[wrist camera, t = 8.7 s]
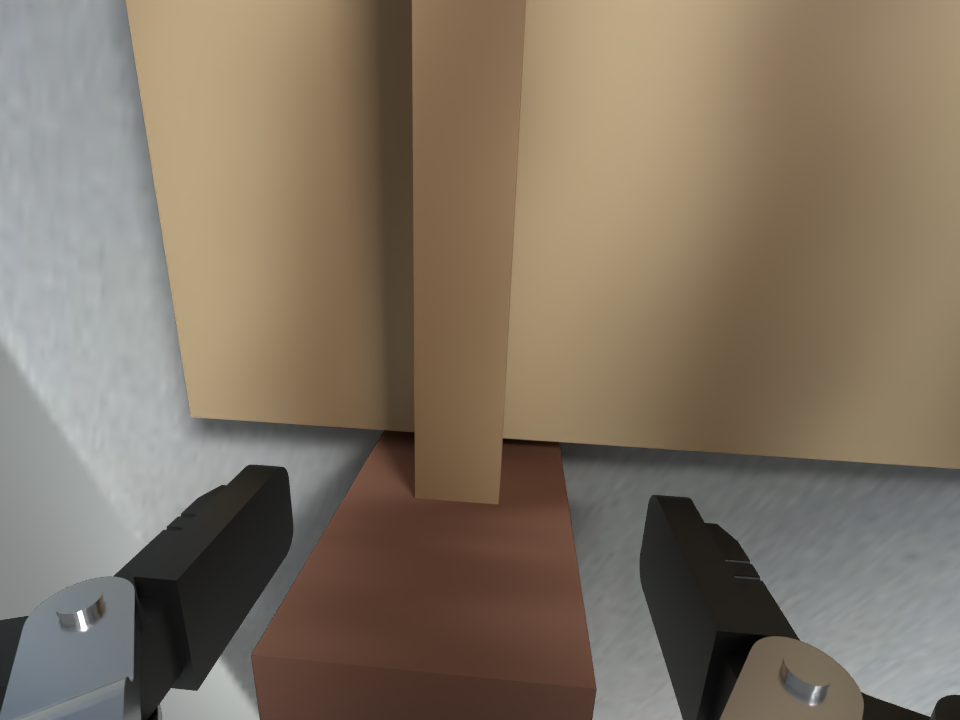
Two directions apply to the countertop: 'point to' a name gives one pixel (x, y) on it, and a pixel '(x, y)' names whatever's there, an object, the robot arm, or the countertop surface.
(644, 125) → the board
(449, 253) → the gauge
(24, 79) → the countertop surface
